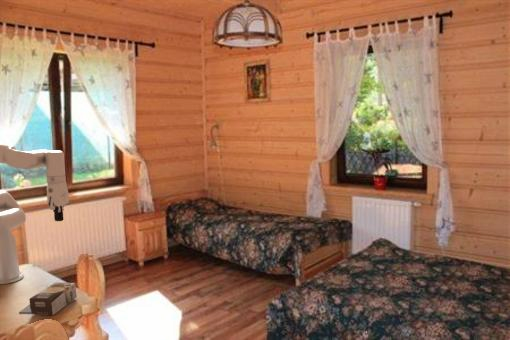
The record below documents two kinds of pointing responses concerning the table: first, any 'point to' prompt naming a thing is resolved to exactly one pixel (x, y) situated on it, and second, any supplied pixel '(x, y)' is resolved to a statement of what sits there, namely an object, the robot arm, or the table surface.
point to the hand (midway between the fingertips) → (59, 220)
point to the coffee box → (53, 298)
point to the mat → (26, 310)
